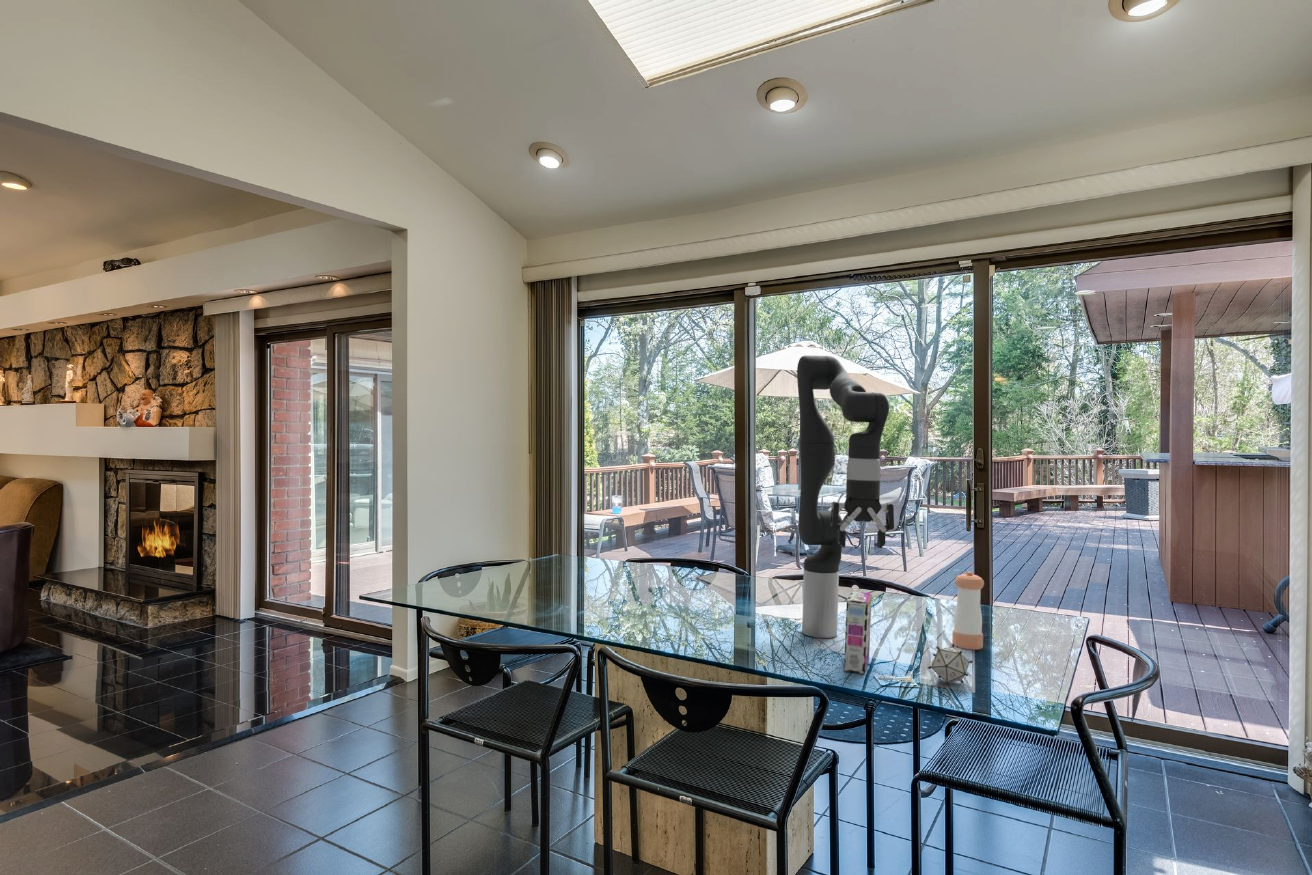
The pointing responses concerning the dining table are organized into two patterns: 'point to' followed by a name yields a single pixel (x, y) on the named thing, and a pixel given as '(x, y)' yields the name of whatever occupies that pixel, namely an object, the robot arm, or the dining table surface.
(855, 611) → the candy bar box
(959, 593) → the pepper shaker
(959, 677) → the game die
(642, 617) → the dining table surface
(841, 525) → the robot arm
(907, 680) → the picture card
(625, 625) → the dining table surface
